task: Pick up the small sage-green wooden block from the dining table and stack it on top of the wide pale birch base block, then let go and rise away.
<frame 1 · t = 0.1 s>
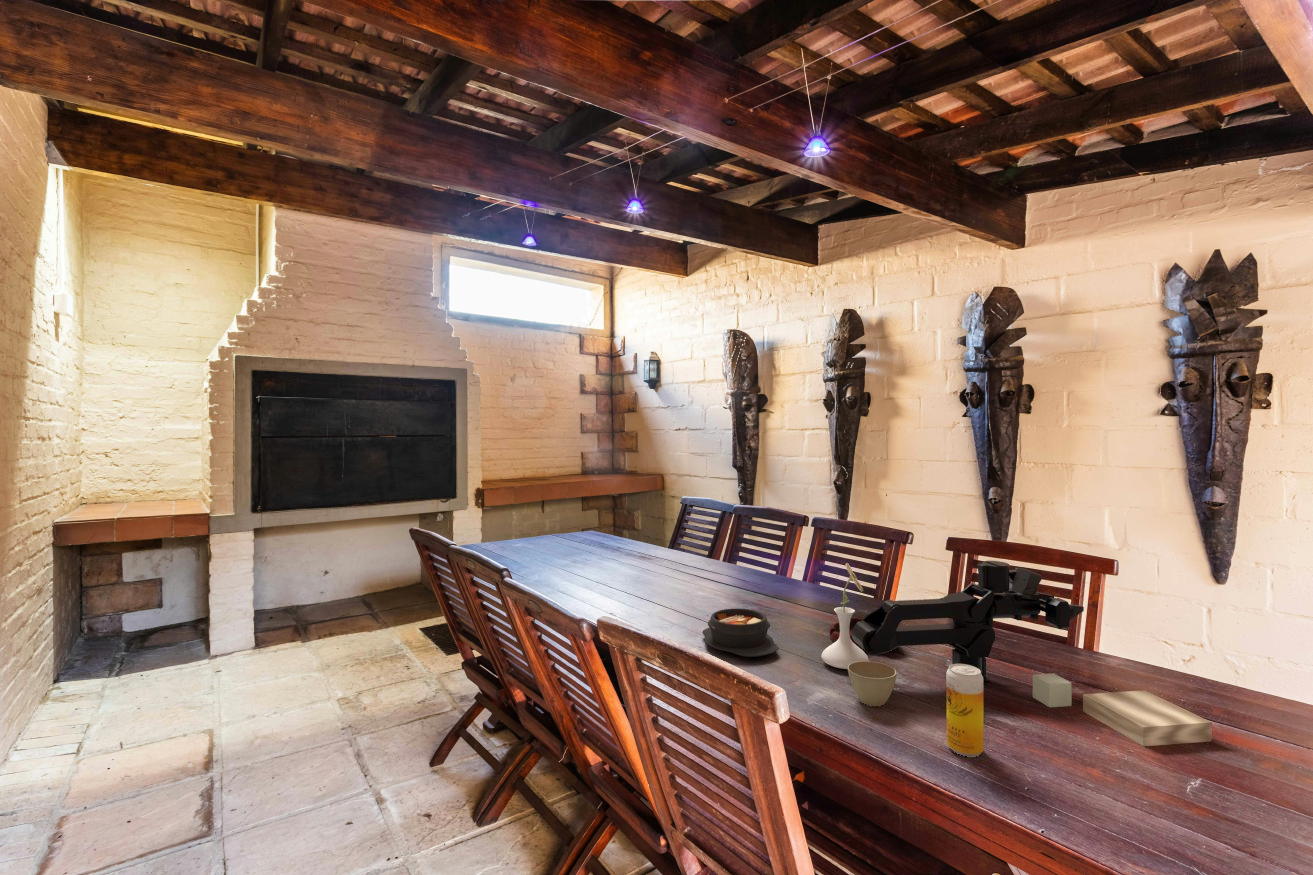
hand: (1068, 602, 147), 17 cm above the table, tool horizontal, fingers open, 9 cm apart
casserole: (739, 647, 167), on the table
birch base: (1144, 727, 121), on the table
flower pot: (872, 702, 133), on the table
ashtray: (861, 644, 168), on the table
flower in vase: (845, 664, 154), on the table
sage block: (1051, 701, 132), on the table
beer can: (965, 750, 113), on the table
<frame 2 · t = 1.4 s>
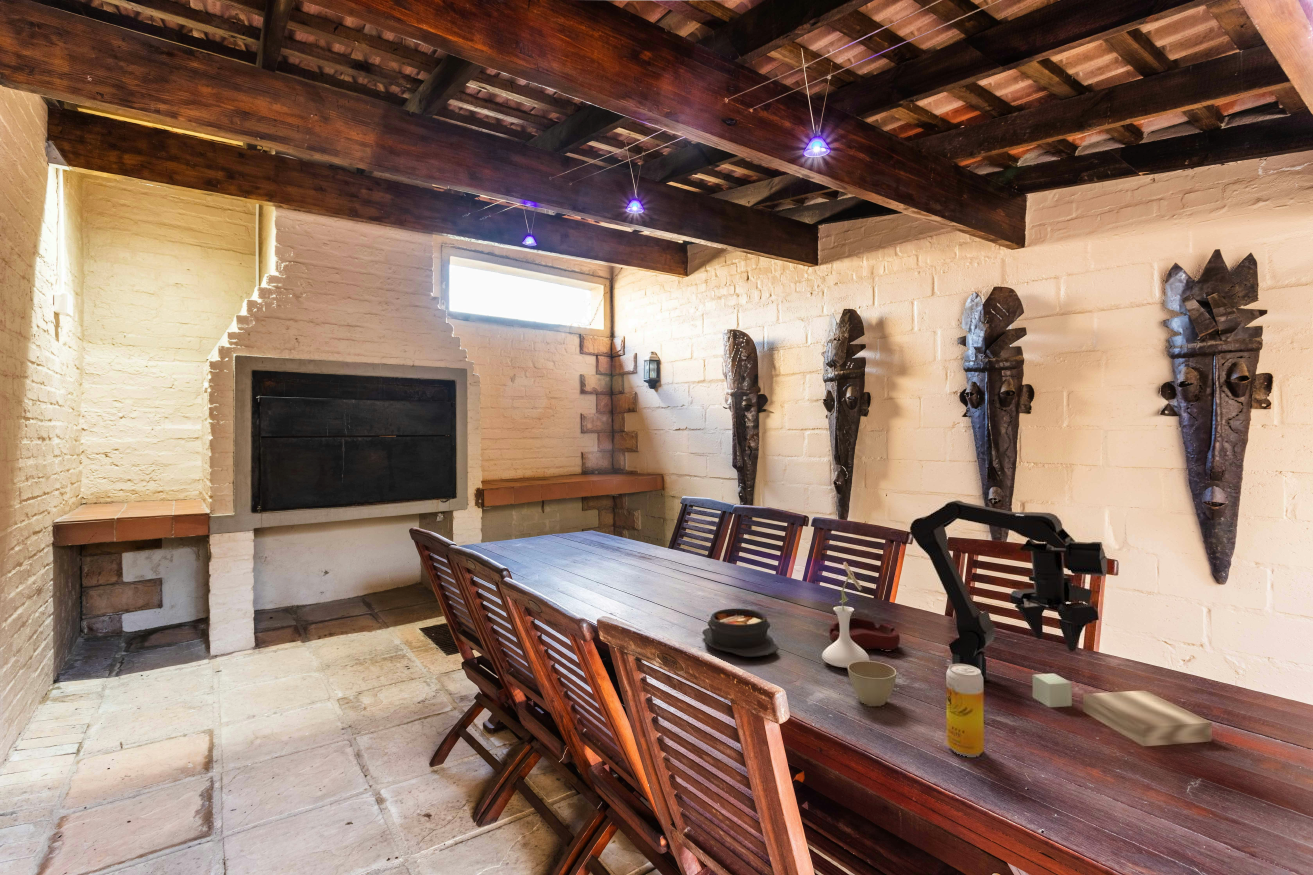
hand: (1055, 644, 132), 12 cm above the table, tool pointing down, fingers open, 9 cm apart
nothing on the table moved.
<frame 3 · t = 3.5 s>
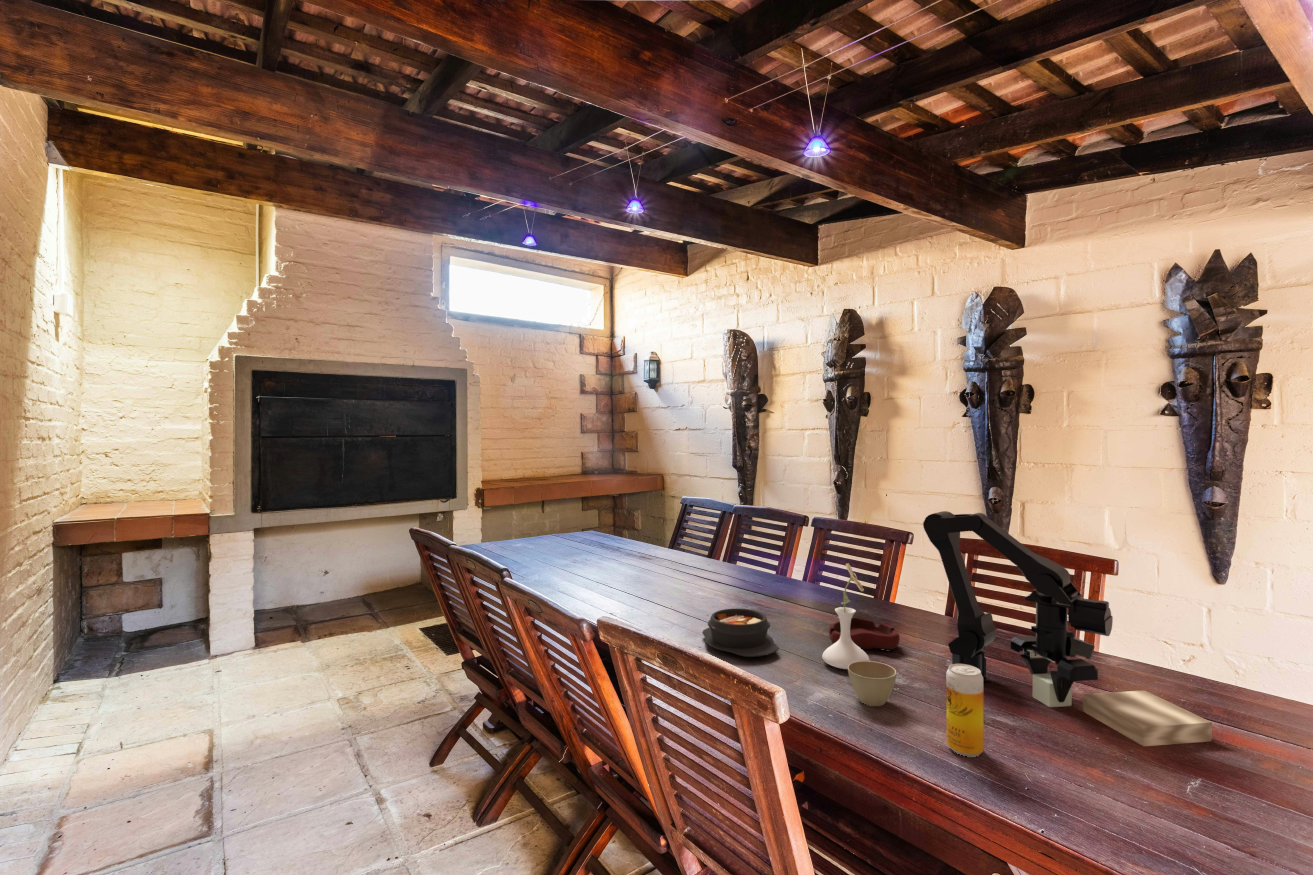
hand: (1051, 696, 132), 1 cm above the table, tool pointing down, fingers closed on sage block, 5 cm apart
sage block: (1051, 701, 132), on the table, touching gripper
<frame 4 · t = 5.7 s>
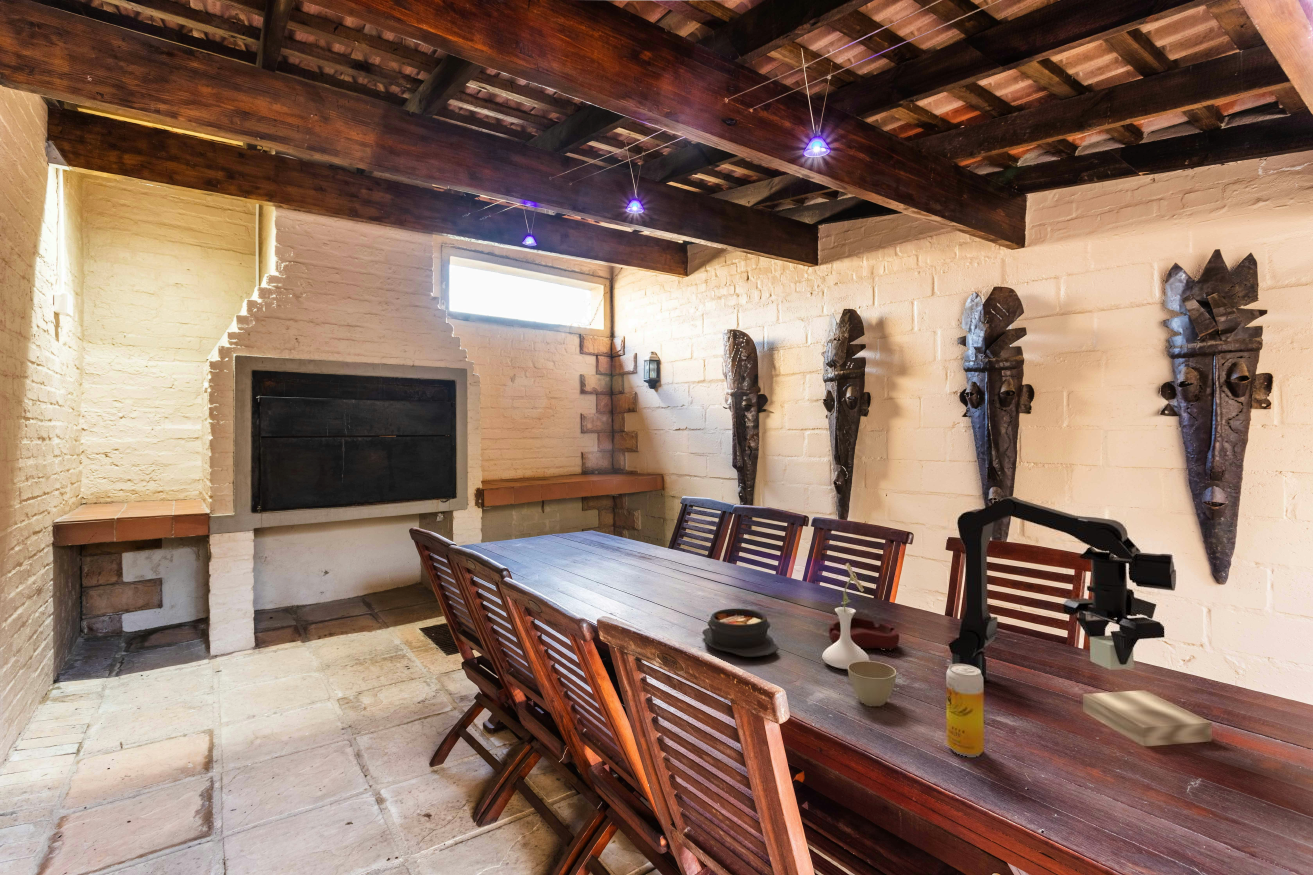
hand: (1111, 659, 124), 12 cm above the table, tool pointing down, fingers closed on sage block, 5 cm apart
sage block: (1111, 664, 124), point 11 cm above the table, touching gripper
everything else where it was.
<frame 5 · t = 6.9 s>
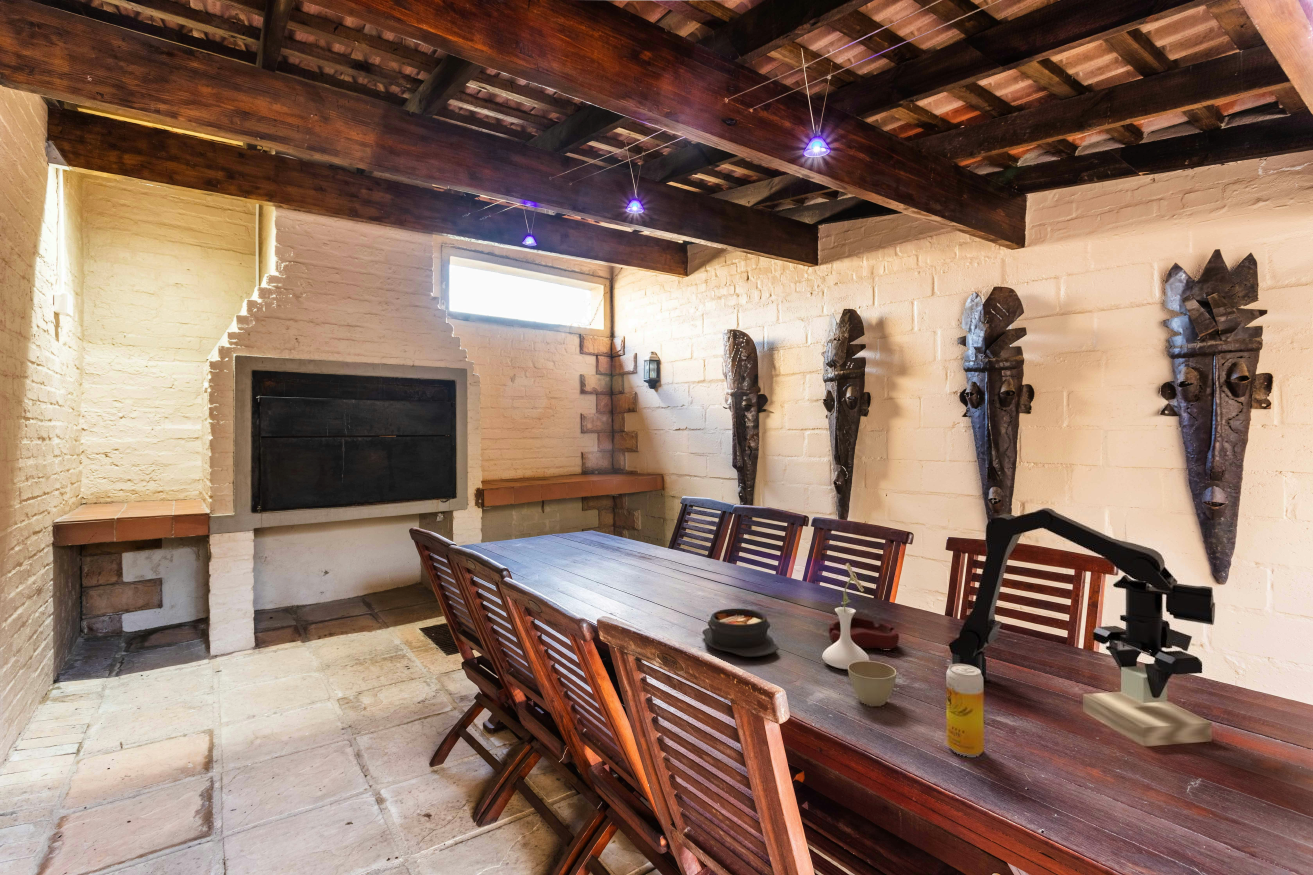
hand: (1143, 691, 121), 7 cm above the table, tool pointing down, fingers closed on sage block, 5 cm apart
sage block: (1143, 696, 121), point 6 cm above the table, touching gripper
everything else where it was.
when the fingers open (6 cm above the table, at t = 7.7 s): sage block drops 2 cm, resting on birch base.
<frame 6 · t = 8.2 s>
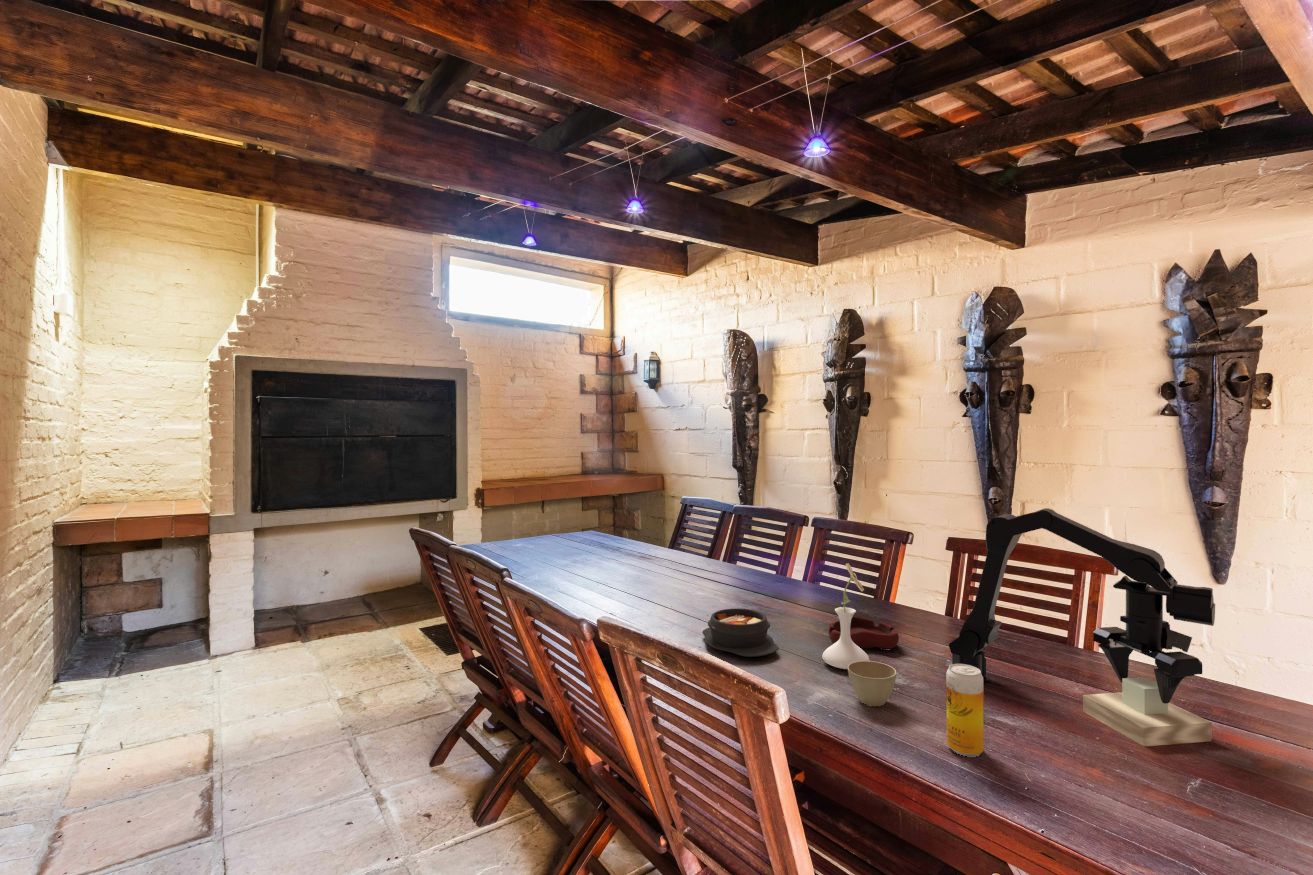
hand: (1143, 692, 121), 6 cm above the table, tool pointing down, fingers open, 9 cm apart
birch base: (1144, 727, 121), on the table, touching sage block
sage block: (1144, 707, 121), point 3 cm above the table, touching birch base
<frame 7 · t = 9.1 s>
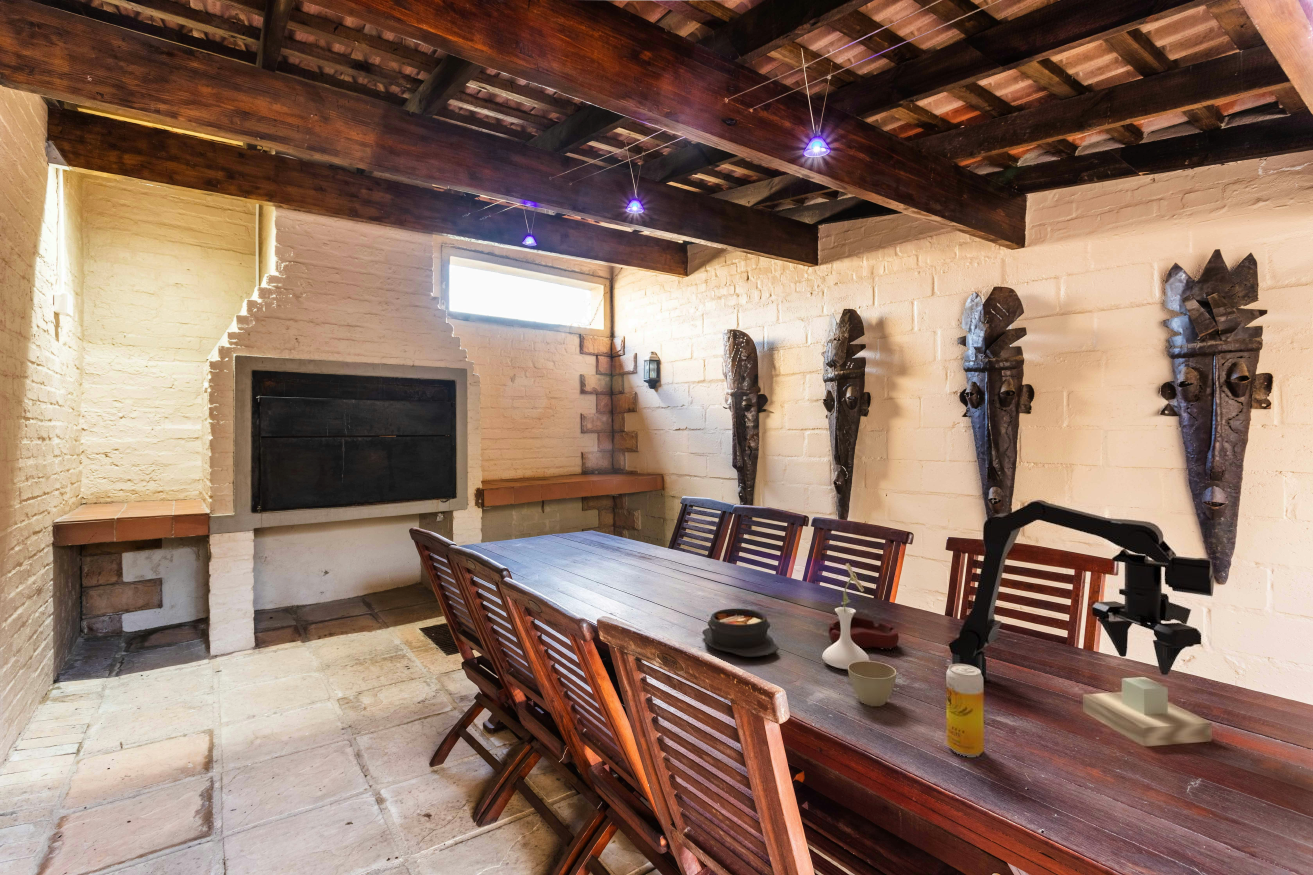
hand: (1142, 665, 121), 12 cm above the table, tool pointing down, fingers open, 9 cm apart
birch base: (1143, 727, 121), on the table
sage block: (1144, 707, 121), point 3 cm above the table
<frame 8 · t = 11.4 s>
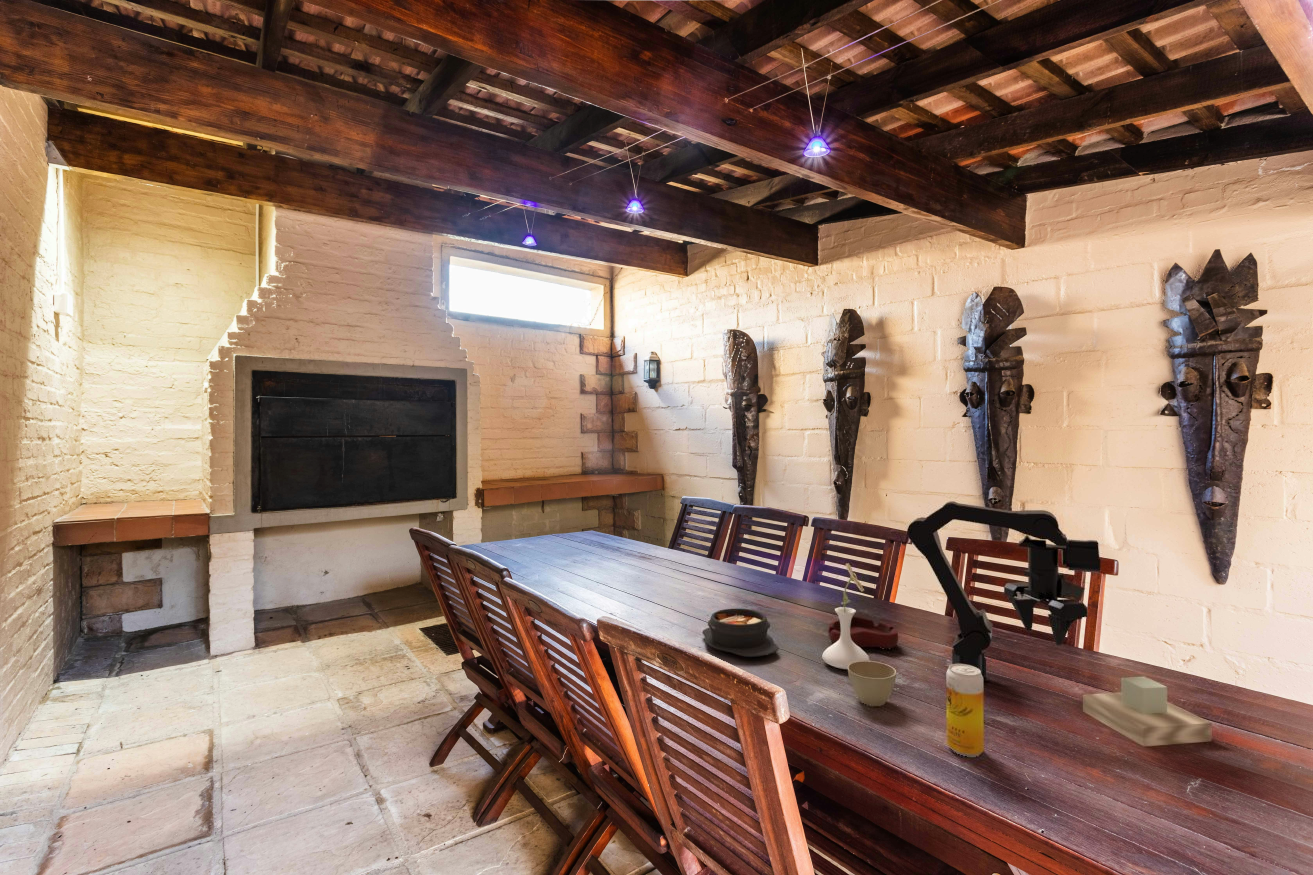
hand: (1043, 637, 137), 12 cm above the table, tool pointing down, fingers open, 9 cm apart
birch base: (1143, 727, 121), on the table, touching sage block
sage block: (1143, 707, 121), point 3 cm above the table, touching birch base
at the end: sage block inside the target area on the birch base (0.3 cm from its centre), point 4.0 cm above the birch base's base; sage block tilted 0°; the gripper is holding nothing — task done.
